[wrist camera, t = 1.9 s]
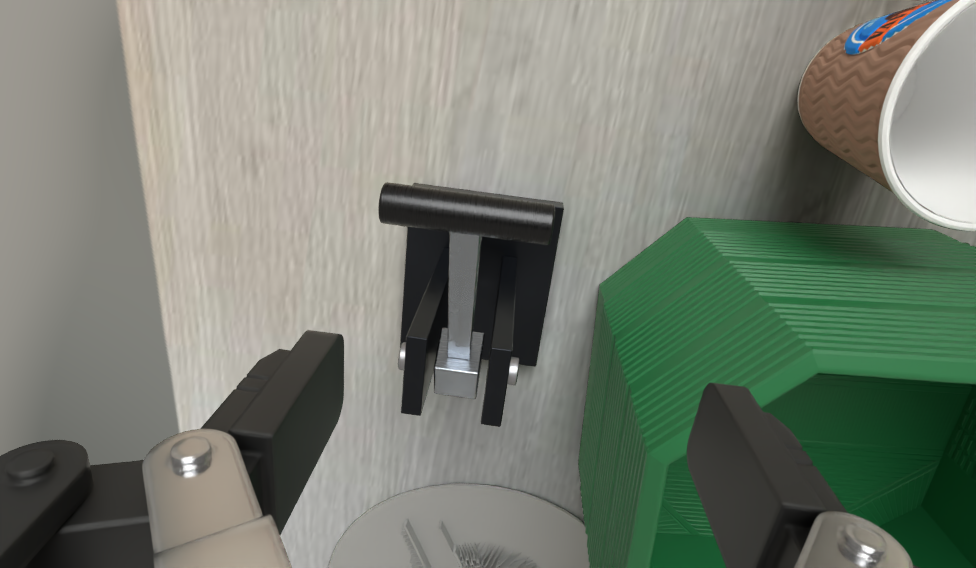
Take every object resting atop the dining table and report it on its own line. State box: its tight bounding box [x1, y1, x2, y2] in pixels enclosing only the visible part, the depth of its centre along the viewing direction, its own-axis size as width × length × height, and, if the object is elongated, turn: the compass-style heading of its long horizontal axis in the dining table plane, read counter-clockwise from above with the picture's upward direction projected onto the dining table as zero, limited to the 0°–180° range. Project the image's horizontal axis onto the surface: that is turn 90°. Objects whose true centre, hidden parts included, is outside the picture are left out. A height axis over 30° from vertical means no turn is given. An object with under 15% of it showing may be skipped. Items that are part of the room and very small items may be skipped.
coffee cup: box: [797, 0, 976, 231], centre depth 28 cm, size 10×10×12 cm
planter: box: [578, 217, 976, 568], centre depth 33 cm, size 26×26×18 cm
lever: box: [379, 182, 555, 399], centre depth 24 cm, size 13×6×2 cm, turn 173°
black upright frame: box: [398, 183, 564, 427], centre depth 33 cm, size 12×10×14 cm
